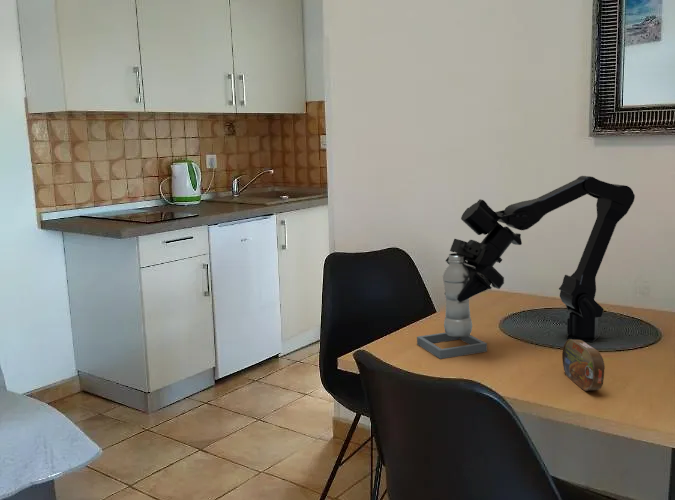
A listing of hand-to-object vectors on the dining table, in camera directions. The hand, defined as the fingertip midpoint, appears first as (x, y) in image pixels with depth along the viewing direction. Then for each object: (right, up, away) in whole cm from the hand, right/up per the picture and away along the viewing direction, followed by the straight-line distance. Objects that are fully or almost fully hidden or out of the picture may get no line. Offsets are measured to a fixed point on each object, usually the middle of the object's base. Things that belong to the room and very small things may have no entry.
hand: (452, 298), depth 159 cm
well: (+1, -13, +5) cm, 14 cm away
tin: (+23, -16, -21) cm, 35 cm away
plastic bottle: (+2, -10, +2) cm, 10 cm away
